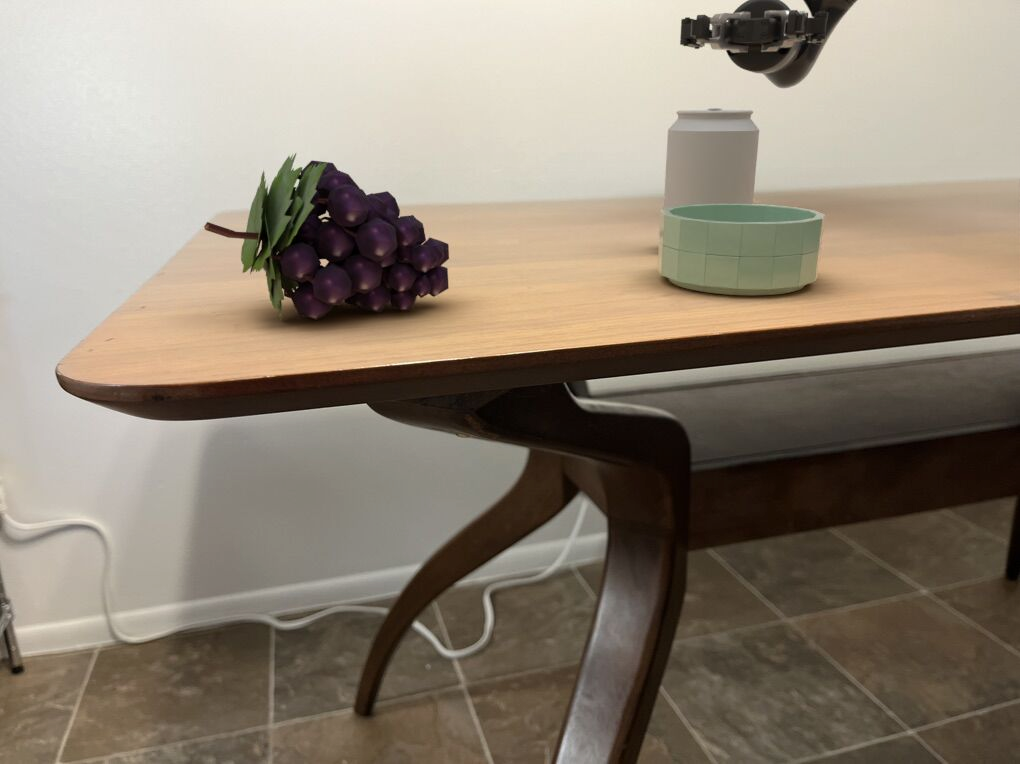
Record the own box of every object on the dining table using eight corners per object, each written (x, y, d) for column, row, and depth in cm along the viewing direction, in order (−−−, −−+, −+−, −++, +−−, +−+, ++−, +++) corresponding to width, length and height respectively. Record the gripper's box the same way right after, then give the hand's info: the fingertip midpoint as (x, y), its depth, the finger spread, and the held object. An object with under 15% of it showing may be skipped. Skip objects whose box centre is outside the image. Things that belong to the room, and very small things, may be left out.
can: (658, 257, 69) (666, 108, 65) (664, 243, 76) (671, 108, 72) (749, 260, 68) (763, 108, 64) (747, 246, 74) (759, 107, 70)
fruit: (447, 364, 51) (195, 331, 45) (407, 301, 60) (192, 266, 54) (492, 208, 48) (225, 147, 41) (443, 165, 56) (216, 110, 50)
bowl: (791, 266, 65) (797, 203, 63) (837, 298, 54) (847, 223, 53) (650, 266, 65) (653, 203, 64) (669, 297, 55) (673, 223, 53)
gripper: (702, 4, 93) (672, -15, 79) (835, -3, 88) (829, -25, 74) (697, 74, 95) (668, 68, 81) (827, 71, 90) (819, 64, 76)
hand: (744, 24), depth 77 cm, fingers open, 8 cm apart
